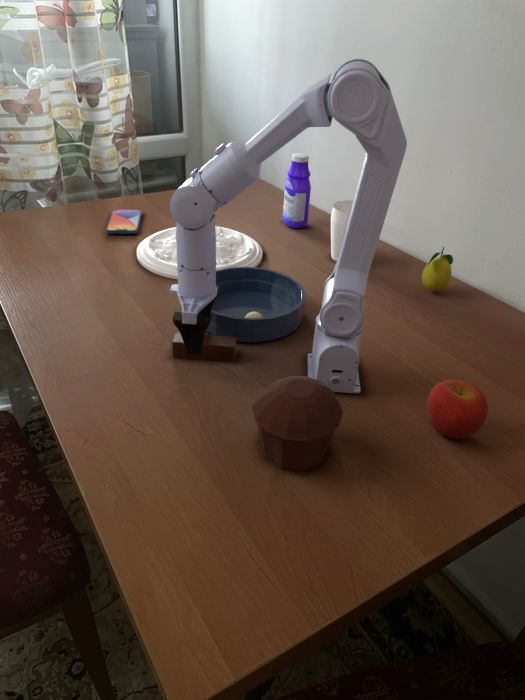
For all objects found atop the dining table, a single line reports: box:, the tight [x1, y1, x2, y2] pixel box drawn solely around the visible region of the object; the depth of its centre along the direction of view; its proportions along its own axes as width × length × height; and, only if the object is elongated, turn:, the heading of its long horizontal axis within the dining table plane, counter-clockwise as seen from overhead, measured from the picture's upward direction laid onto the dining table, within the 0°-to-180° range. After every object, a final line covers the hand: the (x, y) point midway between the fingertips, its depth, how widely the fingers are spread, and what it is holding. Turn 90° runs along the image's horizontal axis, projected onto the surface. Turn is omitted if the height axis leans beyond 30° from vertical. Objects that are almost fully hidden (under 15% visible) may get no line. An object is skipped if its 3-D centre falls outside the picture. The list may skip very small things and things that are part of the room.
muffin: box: [251, 375, 344, 472], centre depth 70 cm, size 12×11×10 cm
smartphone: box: [105, 209, 143, 235], centre depth 135 cm, size 7×15×1 cm, turn 6°
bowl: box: [205, 266, 306, 343], centre depth 100 cm, size 20×20×5 cm
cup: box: [330, 199, 354, 262], centre depth 122 cm, size 9×9×12 cm
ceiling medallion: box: [136, 225, 263, 280], centre depth 122 cm, size 28×28×3 cm
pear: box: [421, 246, 454, 293], centre depth 110 cm, size 7×6×10 cm
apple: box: [427, 379, 489, 440], centre depth 75 cm, size 8×8×8 cm
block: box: [171, 331, 237, 363], centre depth 89 cm, size 3×10×3 cm, turn 87°
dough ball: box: [245, 312, 263, 318], centre depth 95 cm, size 4×4×4 cm
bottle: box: [282, 152, 312, 229], centre depth 136 cm, size 7×6×17 cm
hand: (198, 339), depth 88 cm, fingers open, 7 cm apart
